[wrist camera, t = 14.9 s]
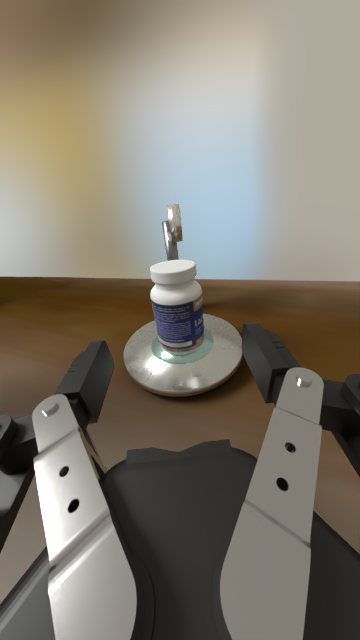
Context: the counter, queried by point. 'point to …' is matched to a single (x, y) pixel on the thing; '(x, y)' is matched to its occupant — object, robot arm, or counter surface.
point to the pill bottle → (177, 306)
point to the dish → (184, 360)
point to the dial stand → (172, 232)
